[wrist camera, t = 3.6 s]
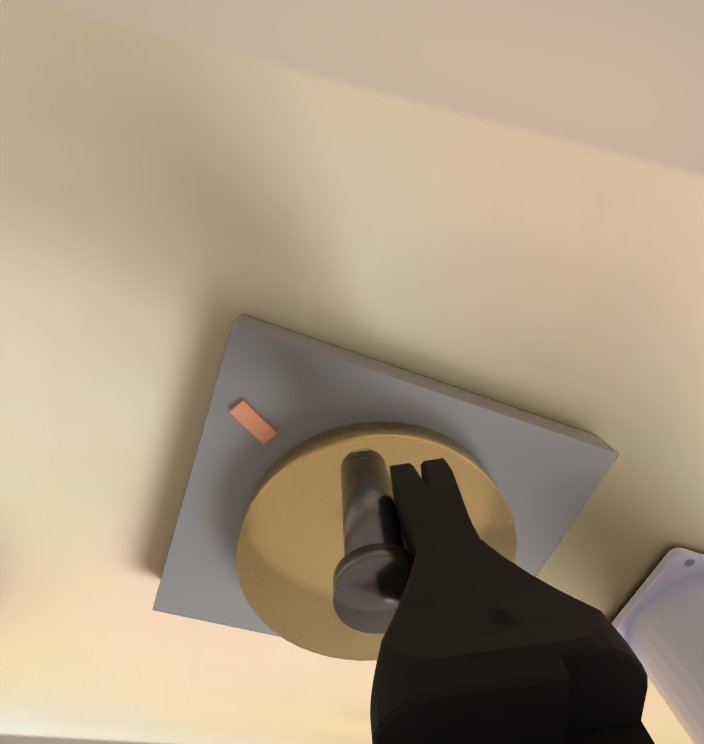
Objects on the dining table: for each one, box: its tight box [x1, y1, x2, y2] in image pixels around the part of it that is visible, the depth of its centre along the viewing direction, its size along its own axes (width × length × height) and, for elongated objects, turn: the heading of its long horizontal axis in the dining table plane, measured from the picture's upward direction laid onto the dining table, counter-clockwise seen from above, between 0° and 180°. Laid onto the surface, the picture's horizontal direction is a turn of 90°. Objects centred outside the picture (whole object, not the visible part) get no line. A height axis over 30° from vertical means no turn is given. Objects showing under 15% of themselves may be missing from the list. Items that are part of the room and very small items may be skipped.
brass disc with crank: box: [236, 422, 517, 661], centre depth 14 cm, size 11×11×7 cm
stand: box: [153, 314, 619, 637], centre depth 18 cm, size 16×14×2 cm
